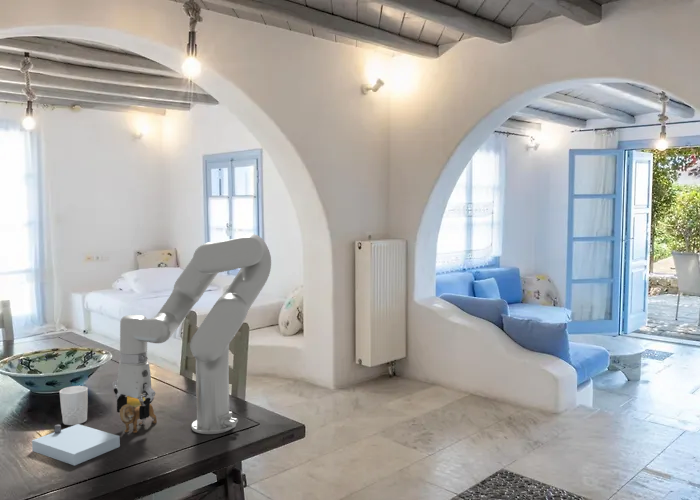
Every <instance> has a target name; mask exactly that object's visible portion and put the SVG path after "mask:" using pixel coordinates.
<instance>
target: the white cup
mask: <svg viewBox="0 0 700 500" xmlns="http://www.w3.org/2000/svg"><path fill="white" fill-rule="evenodd" d="M88 389H89V388H88V386H85V385H73V386H67V387H64V388H62V389H60V390H59V391H58V392H59V402H60V410H61V416H62V424H63V425H65V426H74V425H77V424H80V425H82V424H83V423H86V422H87V420H88V404H89V402H88V400H89V399H88V396H89V395H88V391H89V390H88Z"/></svg>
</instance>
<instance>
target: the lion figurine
mask: <svg viewBox="0 0 700 500" xmlns="http://www.w3.org/2000/svg"><path fill="white" fill-rule="evenodd" d="M140 406H141V405H140ZM140 406H138V407H133V406H132V405H130V404H126V405H124V406H122V407H121V409H120V412H119V417H120V420H121V421H122V423H123V424H124V425H125V428H126V429H124V433H128V432H130V424H132V427H133V428H132V433H133V434H135V433H138V428H137V425H140V426H142V425H144V423H145V421H146V419H147V418H145V419H142V420H141V419H140V418H139V408H140ZM154 411H155V410H154V407H153V405H152V403H151V404H150V413H149V417H150V418H151V419H152V420H153V421H152V422H151V423H152V424H157V420H158V419H157V416H156V414H155V412H154ZM138 420H141V422H139V423H138Z"/></svg>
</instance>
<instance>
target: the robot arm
mask: <svg viewBox="0 0 700 500" xmlns="http://www.w3.org/2000/svg"><path fill="white" fill-rule="evenodd" d="M238 269H239V271H238V273H237V274H236V275H235V277H234V278H233V280H232V282H231V284H230V285H229V286H228V288H227V289H226V291H225V292H224V293H223V294H222V295H221V296H220V297H219V298H218V300H217V301H216V302H215V303H214V304H213V306H212V308H211V309H210V311H209V312H208V313H207V315H206V316H205V318H204V319H203V321H202V323H201V324H200V325H199V327H198V328H197V330H196V331H195V333H194V334H192V335H193V336H192V337H191V339H190V342H189V343H190V344H189V349H190V352H191V355H192V356H193V357H194V359H195V392H196V420H193V422H192V423H191V430H192V431H193V432H195V433H197V434H202V435H216V434H217V435H218V434H222V433H225V432H226V433H227V432H229V431H230V430H232V429H234V428H236V426H237V424H238V423H239V418H236V417H233V411H230V380H229V379H230V377H229V373H230V370H229V368H230V367H229V363H230V362H229V355H230V353H229V352H230V343H231V342H232V340H233V339H234V338H235V336H236V335H237V333H238V331H239V330H240V329H241V327H242V325H243V323H244V322H245V320H246V318H247V316H248V312H249V311H250V309H251V307H252V305H253V304H254V302H255V300H256V299H257V298H258V296H259V294H260V293H261V292H262V290H263V288H264V286H265V285H266V283H267V280H268V279H269V276H270V274H271V269H272V255H271V252H270V250H269V247H268V246H267V244H266V242H265V240H264V239H263V238H262V237H261V236H259V235H258V234H256V233H248V234H244V235H242V236H241V237H236V238H232V239H226V240H223V241H218V242H217V241H216V242H214V241H208V242H205V243H203V244H201V245H200V246H197V248H196V249H195V251H194V252H193V256H192V258H191V259H190V261H189V263H188V264H187V265H186V266H185V269H183V271H182V273H181V274H180V275H179V277H178V278H177V279H176V281H175V282H174V285H173V289H172V292H171V293H170V295H169V296H168V298H167V300H166V301H165V303H164V304H163V305H162V307H161V308H160V310H159V311H158V312H157V314H156V315H154V316H153V317H151V318H147V317H146V316H145V315H142V314H128V315H125V316H123V317H122V318H121V319H120V326H119V339H120V340H119V362H118V368H117V375H116V376H117V379H116V380H114V381H112V382H111V384H112V389H113V393H114V394H115V396H114V397H115V399H116V413H119V414H120V409H121V407H122V406H124V405H126V404H127V396H129V397H133V398H137V399H138V400H139V402H140V404H141V406H140V408H139V418H140V419H139V420H141V421H142V419H145V418H146V419H147V418H149V417H150V416H149V413H150V404H151V405H152V402H153V401H154V398H155V395H156V391H155V390H154V389H153V388H152V374H151V368H150V363H149V362H148V360H149V359H148V343H151V344H162V343H165V342H167V341H168V340H169V339H170V338H171V337H172V336H173V335H174V334H175V333H176V331H178V330H177V329H178V328H179V327H180V326H181V324H182V323H183V321H184V320H185V319H186V317H187V316H188V314H189V313H190V312H191V310H192V308H193V307H194V306H195V305H196V303H197V304H198V302H199V300H200V299H201V297H202V296H203V295H204V293H205V292H206V291H207V289H208V288H209V286H210V285H211V284H212V282H213V281H214V279H215V278H216V276H217V275H218V274H219V273H223V272H224V273H225V272H228V271H233V270H234V271H235V270H238ZM143 398H145V401H144V400H143Z"/></svg>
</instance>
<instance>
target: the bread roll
mask: <svg viewBox="0 0 700 500" xmlns="http://www.w3.org/2000/svg"><path fill="white" fill-rule="evenodd" d="M126 397H127V404H130V405H132V406H133V407H138V406H140V405H141V404H140V402H139V400H138V399H137V398H133V397H129V396H126ZM143 400H144V401H145V398H143Z"/></svg>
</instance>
